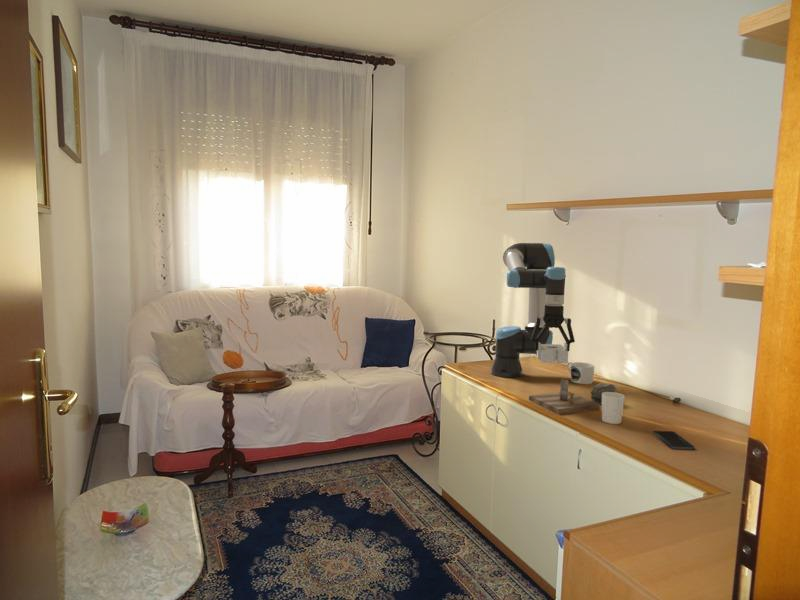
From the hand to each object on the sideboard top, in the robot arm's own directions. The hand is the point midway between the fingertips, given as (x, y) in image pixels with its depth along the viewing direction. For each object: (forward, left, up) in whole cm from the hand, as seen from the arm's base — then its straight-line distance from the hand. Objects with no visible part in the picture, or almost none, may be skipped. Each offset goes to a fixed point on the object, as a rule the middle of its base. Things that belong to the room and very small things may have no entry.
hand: (551, 358), depth 228 cm
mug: (-22, +34, -18) cm, 44 cm away
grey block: (0, 0, 0) cm, 0 cm away
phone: (+52, +11, -18) cm, 56 cm away
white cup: (+29, +6, -18) cm, 35 cm away
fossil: (+10, +20, -18) cm, 29 cm away
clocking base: (+7, +2, -18) cm, 19 cm away
